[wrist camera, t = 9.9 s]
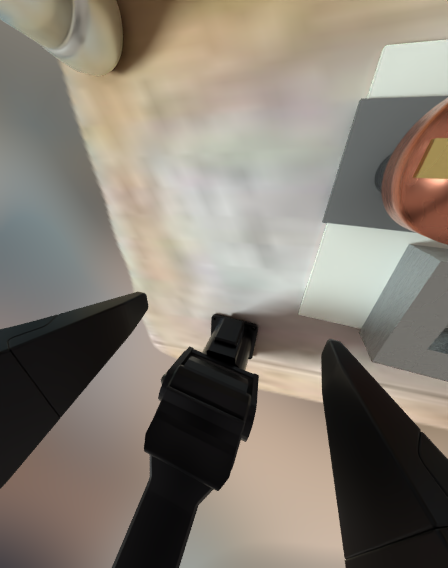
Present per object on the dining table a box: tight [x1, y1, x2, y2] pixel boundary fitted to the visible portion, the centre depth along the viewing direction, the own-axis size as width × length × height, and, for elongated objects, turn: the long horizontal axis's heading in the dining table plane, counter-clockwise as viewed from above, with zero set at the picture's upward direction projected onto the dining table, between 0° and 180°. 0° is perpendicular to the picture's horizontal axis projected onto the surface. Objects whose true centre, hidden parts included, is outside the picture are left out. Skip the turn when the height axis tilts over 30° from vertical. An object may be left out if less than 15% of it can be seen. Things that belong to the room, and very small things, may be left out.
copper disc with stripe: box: [375, 98, 448, 245], centre depth 10 cm, size 6×6×9 cm
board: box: [298, 39, 448, 329], centre depth 15 cm, size 21×17×1 cm
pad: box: [322, 96, 448, 233], centre depth 14 cm, size 8×8×1 cm
